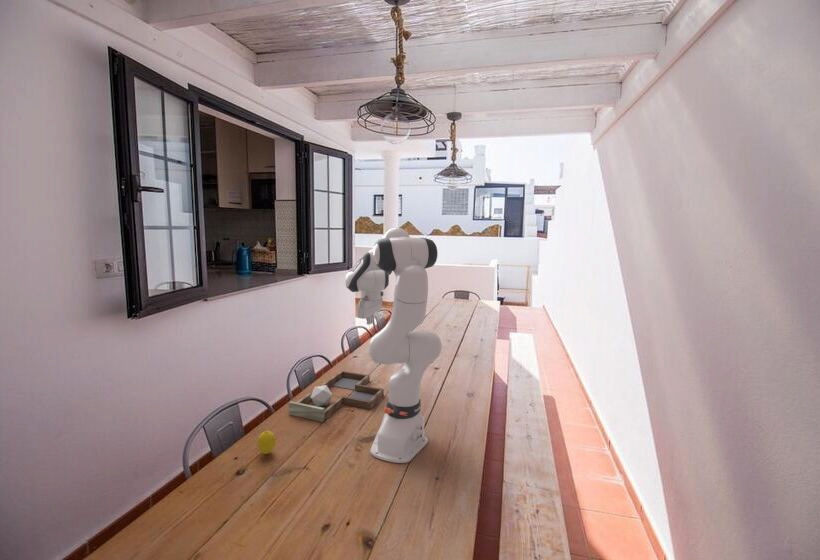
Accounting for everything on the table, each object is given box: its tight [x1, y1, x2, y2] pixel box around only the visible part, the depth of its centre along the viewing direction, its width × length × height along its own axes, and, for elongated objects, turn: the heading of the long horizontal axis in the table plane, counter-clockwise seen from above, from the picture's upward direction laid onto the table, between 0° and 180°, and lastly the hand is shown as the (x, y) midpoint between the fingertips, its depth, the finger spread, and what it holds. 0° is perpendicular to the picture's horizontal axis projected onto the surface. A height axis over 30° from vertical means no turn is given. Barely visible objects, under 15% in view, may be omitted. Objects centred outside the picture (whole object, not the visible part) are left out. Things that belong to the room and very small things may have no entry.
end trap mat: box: [331, 378, 360, 391], centre depth 181 cm, size 10×12×1 cm
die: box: [311, 385, 333, 407], centre depth 159 cm, size 8×9×10 cm
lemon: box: [256, 430, 277, 455], centre depth 123 cm, size 6×6×8 cm
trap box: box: [288, 370, 385, 423], centre depth 166 cm, size 42×28×5 cm, turn 161°
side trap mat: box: [348, 390, 374, 401], centre depth 166 cm, size 11×12×1 cm
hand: (369, 323), depth 175 cm, fingers closed
